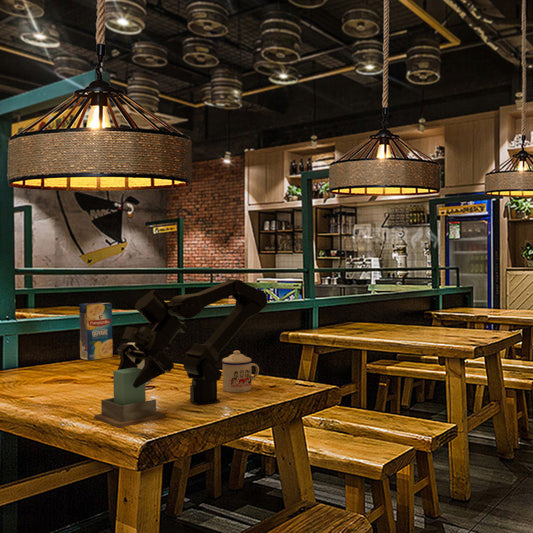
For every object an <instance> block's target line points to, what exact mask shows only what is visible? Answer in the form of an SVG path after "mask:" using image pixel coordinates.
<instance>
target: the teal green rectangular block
mask: <svg viewBox="0 0 533 533" xmlns="http://www.w3.org/2000/svg"><path fill="white" fill-rule="evenodd" d="M141 370H142V369H139V368H128V369H121V370H118V369H115V370H113V372H112V373H113V374H112V375H113V378H112V379H113V398H114V403H115V404H118V405H121V406H124V405H129V404H134V403H139V402H144V401H147V400H146V398H147V397H146V396H147V395H146V385H145V383H144V384H143V385H141V386H139V387H137V388H134V387H133V384H134V382H135V380H136V378H137V377H138V375H139V374H140V372H141Z"/></svg>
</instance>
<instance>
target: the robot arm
mask: <svg viewBox="0 0 533 533" xmlns="http://www.w3.org/2000/svg"><path fill="white" fill-rule="evenodd" d="M229 297H231V298H233V300H235V304H234V309H233V310H232V311H231V312H230V313H229V315H228V316H227V317H226V318H225V319H224V320H223V322H222V323H221V324H220V325H219V326H218V327H217V328H216V330H215V331H214V332H213V333H212V335H210V336H209V338H208V339H207V340H206V341H205V342H204V343H203V344H201V343H193V344H192V346H191V347H190V348H189V350H188V351H187V352H185V353H184V354H185V356H184V357H183V360H182V361H183V364H182V365H183V369H184V370H185V372H186V374H187V377H188V379H191V384H190V385H189V395H190V397H189V401H190V402H191V403H194V404H196V405H197V406H200V405H207V404H213V403H214V404H215V403H220V402H221V400H220V399H218V381H220V380H221V378H222V376H223V371H221V370H220V369H219V368H218V366H216V365H217V364H218V362H219V361H218V360H219V354H220V353H221V351H222V350H223V349H224V348H225V346H226V345H227V344H229V342H230V341H231V339H232V338H233V337H234V336H235V335H236V334H237V332H238V331H239V330H240V328H242V327H243V325H244V324H245V323H246V321H247V320H248V319H250V318H251V317H254V316H256V315H258V314H259V313H261V311H263V310H264V309H265V308H266V307H267V305H268V295H267V294H266V292H265V291H264V290H263V289H258V288H256V287H254V286H252V285H250V284H247V283H245V282H244V281H243V280H241V279H239V278H237V279H235V278H233V279H231V278H230V279H229V278H228V279H227V280H226V281H223V282H221V283H218V284H216V285H214V286H212V287H209V288H207V289H204V290H201V291H199V292H196V293H195V292H194V293H188V294H181V295H176V296H173V297H171V298H170V300H169V301H165V300H164V298H162V296H160V294H159V292H158V291H157V290H154V289H153V290H150V291H149V293H147V294H145V295H143V296H141V298H139V299H137V301H136V302H135V305H134V308H135V310H136V311H137V312H138V313H139V314H140V315H141V317H143V318H144V319H145V321H146V322H148V324H155V325H154V327H153V328H152V329H151V328H149V327H146V326H142V327H141V328H136V327H132V326H126V327H125V330H124V333H123V335H122V340H125V341H130V343H135V344H134V346H135V347H136V348H138V349H139V350H137V349H136V348H135V347H134V346H133V345H132V344H127V343H121V344H120V345H119V346H118V348H117V351H118V352H117V354H118V356H119V357H120V359H119V360H120V361H119V364H118V368H117V370H121V369H128V368H137V367H138V366H137V365H138V364H140V363H141V362H142V361H143V360H145V363H144V367H143V369H142V370H141V372H140V374H139V375H138V377H137V378H136V380H135V382H134V384H133V387H134V388H137V387H139V386H141V385H143V384H144V383H146V382H148V381H150V382H151V380H154V379H156V378H157V377H159V376H161V375H165V374H166V373H171V371H172V370H173V368H174V367H175V361H174V360H173V359H172V358H171V357H170V356H169V355H168V354H167V353H166V351H165V350H166V349H167V350H169V349H171V348H172V345H171V342H172V341H173V340H174V338H175V337H176V335H177V334H178V333H183V334H187V333H188V328H187V327H188V326H187V322H186V321H185V322H184V321H181V320H180V319H193V318H194V317H196V316H197V315H198V314H200V313H202V312H203V310H204V309H205V308H207V307H208V306H211V305H212V304H215V303H217V302H220V301H222V300H224V299H227V298H229ZM179 318H180V319H179Z"/></svg>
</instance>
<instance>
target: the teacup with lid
mask: <svg viewBox="0 0 533 533" xmlns="http://www.w3.org/2000/svg"><path fill="white" fill-rule="evenodd" d="M252 362H253V361H252V358H251V357H248V356H246V355H245V354H243V353H241V351H240V350H234V351H233V354H229V356H227V357H224V358H222V359H221V363H222V389H223V391H224V392H227V393H246V392H248V391H251V390H252V386H253V385H252V381H254V380H255V379H256V378H257V377H258V376H259V374H260V373H259V372H260V367H259V365H258V364H256V363H252ZM252 367H254V368H255V373H254V374H253V376H252Z"/></svg>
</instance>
